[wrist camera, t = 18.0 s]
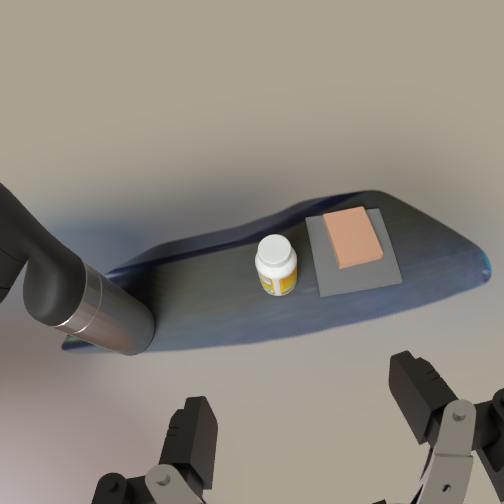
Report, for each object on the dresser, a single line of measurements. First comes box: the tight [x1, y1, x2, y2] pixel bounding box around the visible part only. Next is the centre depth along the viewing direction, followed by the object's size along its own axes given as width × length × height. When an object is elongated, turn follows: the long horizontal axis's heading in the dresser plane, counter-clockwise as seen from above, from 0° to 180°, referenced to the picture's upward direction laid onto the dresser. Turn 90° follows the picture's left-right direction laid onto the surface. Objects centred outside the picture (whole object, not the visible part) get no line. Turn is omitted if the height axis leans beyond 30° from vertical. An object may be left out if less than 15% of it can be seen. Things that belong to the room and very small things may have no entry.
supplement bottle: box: [255, 235, 297, 296], centre depth 38 cm, size 5×5×10 cm
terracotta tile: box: [323, 206, 383, 269], centre depth 42 cm, size 2×7×9 cm
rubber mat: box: [305, 208, 403, 297], centre depth 42 cm, size 13×14×1 cm
